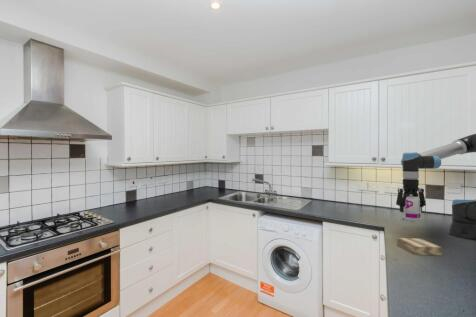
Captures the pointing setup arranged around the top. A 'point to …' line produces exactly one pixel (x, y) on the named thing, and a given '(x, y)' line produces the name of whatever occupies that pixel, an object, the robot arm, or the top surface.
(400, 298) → the top surface
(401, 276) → the top surface
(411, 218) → the supplement can
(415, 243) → the oak base
